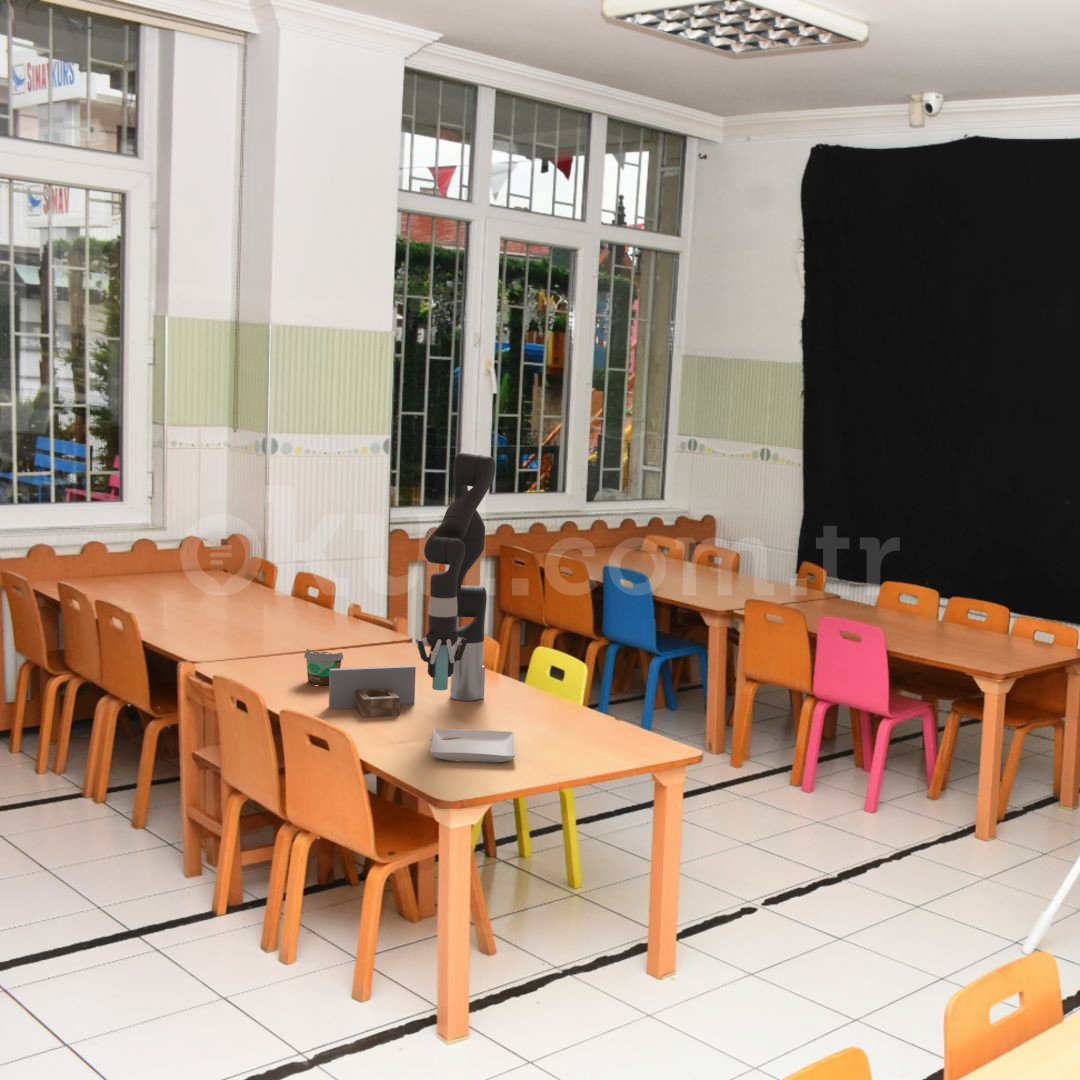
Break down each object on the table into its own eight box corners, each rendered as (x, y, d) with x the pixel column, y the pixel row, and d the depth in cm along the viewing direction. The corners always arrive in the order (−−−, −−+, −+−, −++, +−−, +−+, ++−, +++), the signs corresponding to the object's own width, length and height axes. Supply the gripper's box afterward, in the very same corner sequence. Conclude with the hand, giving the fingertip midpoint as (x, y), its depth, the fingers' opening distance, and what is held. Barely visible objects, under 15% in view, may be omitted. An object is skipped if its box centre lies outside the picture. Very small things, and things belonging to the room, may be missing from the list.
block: (390, 705, 366) (391, 688, 365) (399, 715, 356) (399, 697, 356) (355, 707, 362) (355, 690, 362) (363, 717, 353) (363, 699, 352)
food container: (296, 684, 389) (296, 651, 387) (305, 680, 394) (306, 647, 393) (333, 689, 385) (334, 656, 384) (342, 684, 391) (343, 652, 389)
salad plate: (513, 742, 342) (514, 729, 341) (515, 767, 321) (515, 754, 320) (432, 739, 341) (433, 727, 340) (428, 765, 320) (429, 751, 319)
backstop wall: (412, 706, 370) (413, 665, 369) (414, 708, 369) (415, 666, 367) (328, 710, 362) (329, 668, 360) (330, 712, 360) (331, 670, 358)
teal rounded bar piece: (444, 685, 346) (446, 641, 344) (449, 689, 342) (451, 645, 341) (430, 686, 345) (432, 642, 343) (434, 690, 341) (436, 646, 339)
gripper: (420, 616, 335) (417, 681, 337) (473, 615, 339) (470, 679, 342) (412, 610, 341) (410, 674, 344) (464, 609, 346) (462, 671, 349)
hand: (440, 676), depth 343 cm, fingers closed on teal rounded bar piece, 4 cm apart
